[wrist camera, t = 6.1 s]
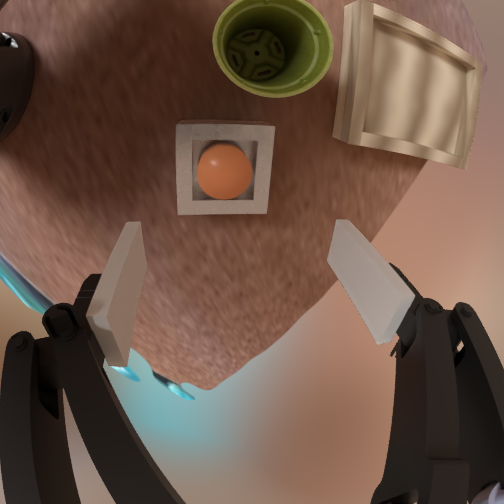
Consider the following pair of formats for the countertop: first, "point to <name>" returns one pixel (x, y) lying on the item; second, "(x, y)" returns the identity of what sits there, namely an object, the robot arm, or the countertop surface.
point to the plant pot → (273, 46)
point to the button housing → (212, 131)
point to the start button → (224, 171)
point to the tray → (405, 87)
